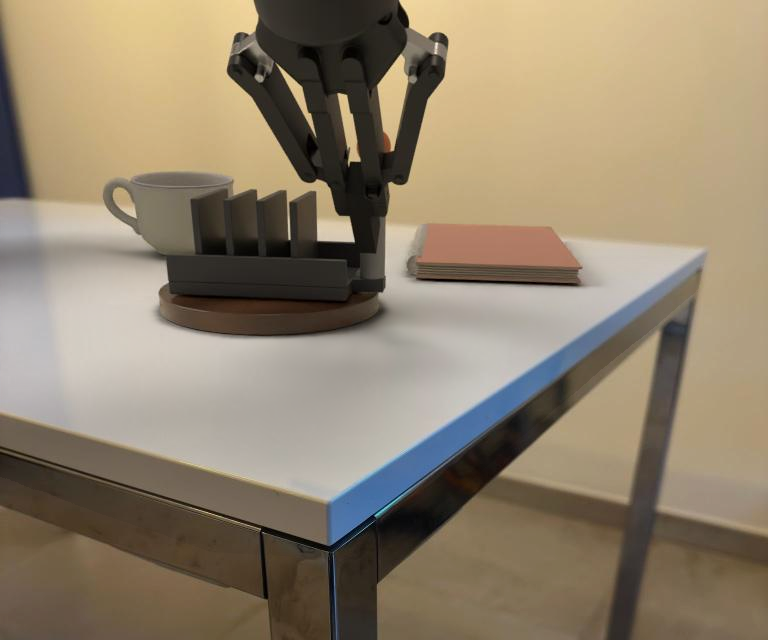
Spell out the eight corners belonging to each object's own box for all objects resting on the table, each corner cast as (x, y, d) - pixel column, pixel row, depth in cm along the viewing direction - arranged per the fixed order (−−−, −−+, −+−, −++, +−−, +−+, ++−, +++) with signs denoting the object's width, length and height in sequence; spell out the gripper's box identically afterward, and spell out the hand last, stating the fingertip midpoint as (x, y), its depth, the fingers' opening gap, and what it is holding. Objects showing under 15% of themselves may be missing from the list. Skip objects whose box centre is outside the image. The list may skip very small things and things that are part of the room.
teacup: (251, 247, 91) (247, 172, 87) (218, 264, 81) (211, 181, 77) (139, 242, 93) (130, 168, 89) (93, 258, 83) (81, 176, 79)
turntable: (112, 311, 63) (110, 292, 62) (261, 276, 76) (260, 260, 76) (285, 348, 54) (284, 327, 54) (418, 301, 68) (419, 284, 67)
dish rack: (169, 294, 61) (150, 124, 55) (204, 272, 69) (191, 122, 63) (382, 302, 60) (384, 130, 54) (393, 279, 68) (396, 126, 62)
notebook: (416, 237, 100) (416, 220, 99) (549, 241, 99) (551, 224, 98) (404, 279, 76) (405, 258, 75) (579, 285, 75) (582, 264, 74)
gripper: (167, -20, 37) (278, 276, 59) (440, -22, 35) (449, 284, 58) (197, -130, 39) (293, 195, 62) (455, -136, 38) (458, 200, 60)
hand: (368, 238), depth 60 cm, fingers closed
